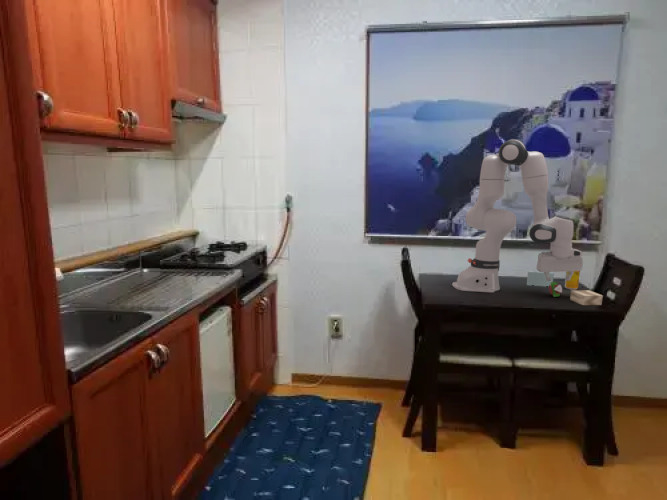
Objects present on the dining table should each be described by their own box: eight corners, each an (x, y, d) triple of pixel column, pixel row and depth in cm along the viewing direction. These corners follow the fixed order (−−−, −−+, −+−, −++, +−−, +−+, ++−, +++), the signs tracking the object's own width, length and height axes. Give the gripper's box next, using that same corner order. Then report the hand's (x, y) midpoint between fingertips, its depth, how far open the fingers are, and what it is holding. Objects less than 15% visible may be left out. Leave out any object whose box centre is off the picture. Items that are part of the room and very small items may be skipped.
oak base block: (582, 305, 209) (583, 295, 208) (570, 300, 218) (571, 290, 217) (601, 305, 210) (602, 295, 209) (588, 299, 219) (589, 290, 218)
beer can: (579, 290, 234) (583, 260, 232) (566, 289, 236) (569, 259, 233) (575, 287, 240) (579, 258, 238) (562, 286, 241) (566, 257, 239)
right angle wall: (546, 282, 252) (548, 268, 251) (552, 287, 241) (553, 273, 239) (522, 280, 255) (524, 267, 253) (526, 286, 243) (528, 271, 242)
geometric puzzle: (540, 289, 226) (550, 278, 221) (551, 288, 229) (560, 277, 223) (549, 301, 222) (559, 290, 216) (560, 300, 224) (570, 289, 219)
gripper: (542, 253, 215) (539, 283, 218) (585, 252, 216) (582, 281, 219) (535, 250, 221) (533, 279, 224) (578, 249, 222) (575, 278, 225)
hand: (558, 280), depth 221 cm, fingers open, 8 cm apart
